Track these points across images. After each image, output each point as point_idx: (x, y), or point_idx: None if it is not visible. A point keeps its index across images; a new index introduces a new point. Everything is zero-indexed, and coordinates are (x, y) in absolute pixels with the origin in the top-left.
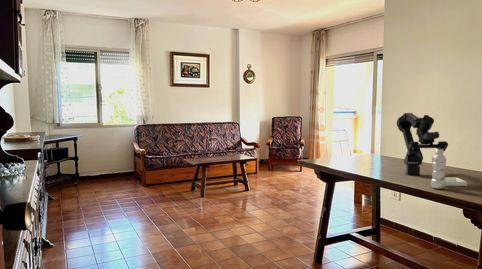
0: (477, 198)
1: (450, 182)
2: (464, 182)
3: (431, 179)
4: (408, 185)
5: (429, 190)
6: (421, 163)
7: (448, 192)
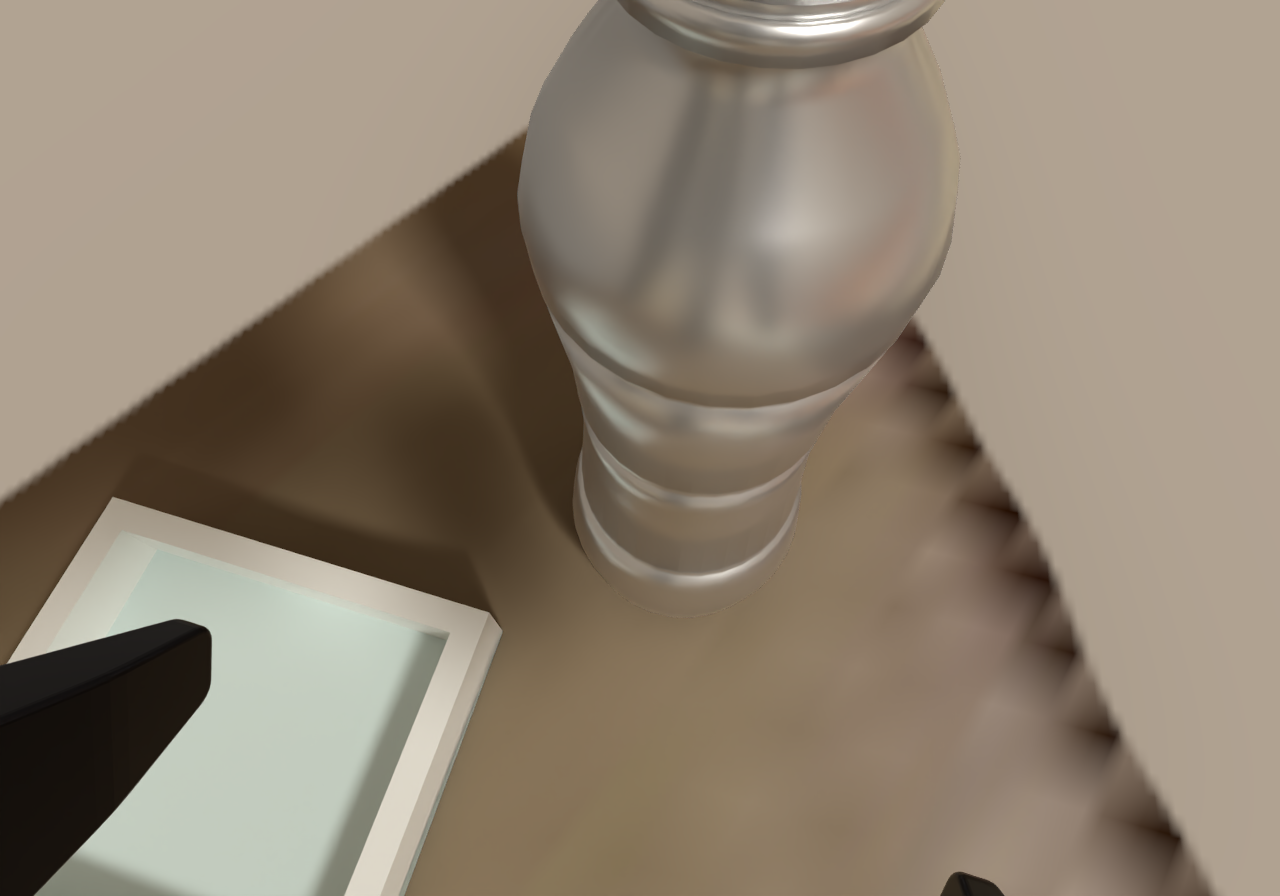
0: None
1: (368, 578)
2: (155, 513)
3: (779, 545)
4: (1050, 873)
5: (875, 467)
6: None
7: None
